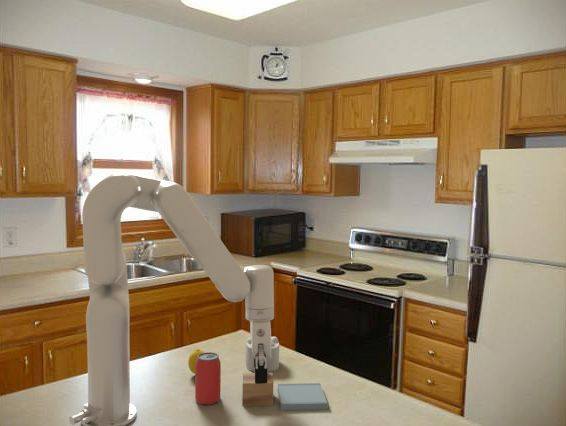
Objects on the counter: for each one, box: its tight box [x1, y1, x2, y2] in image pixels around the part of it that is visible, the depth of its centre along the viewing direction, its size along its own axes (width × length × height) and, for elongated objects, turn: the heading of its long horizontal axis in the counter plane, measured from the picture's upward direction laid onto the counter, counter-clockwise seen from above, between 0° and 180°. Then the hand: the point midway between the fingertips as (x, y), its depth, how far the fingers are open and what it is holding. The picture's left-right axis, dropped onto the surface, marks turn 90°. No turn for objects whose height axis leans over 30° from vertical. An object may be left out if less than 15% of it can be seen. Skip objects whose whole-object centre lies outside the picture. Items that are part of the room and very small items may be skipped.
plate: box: [277, 382, 328, 411], centre depth 130 cm, size 12×12×2 cm
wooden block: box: [241, 372, 274, 406], centre depth 129 cm, size 6×8×6 cm
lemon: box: [187, 348, 205, 374], centre depth 143 cm, size 6×6×8 cm
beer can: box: [194, 351, 222, 406], centre depth 128 cm, size 7×7×12 cm
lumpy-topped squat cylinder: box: [245, 336, 280, 373], centre depth 154 cm, size 10×13×9 cm
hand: (260, 374), depth 129 cm, fingers open, 9 cm apart
